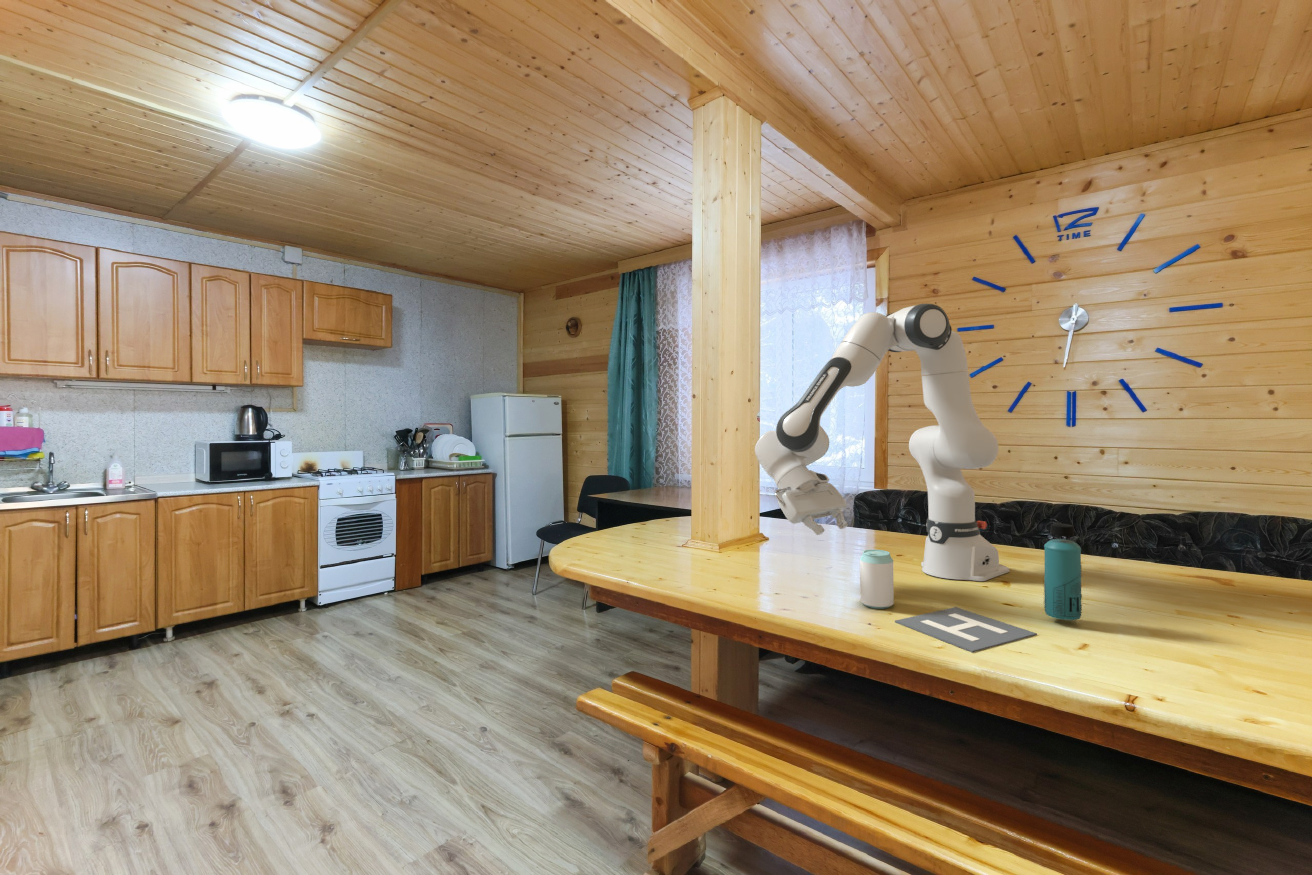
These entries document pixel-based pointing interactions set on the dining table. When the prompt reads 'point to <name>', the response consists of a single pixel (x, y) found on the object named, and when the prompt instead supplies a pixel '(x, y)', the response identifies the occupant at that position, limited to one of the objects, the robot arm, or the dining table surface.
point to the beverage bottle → (1062, 575)
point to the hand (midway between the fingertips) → (833, 530)
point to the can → (876, 579)
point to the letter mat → (965, 629)
